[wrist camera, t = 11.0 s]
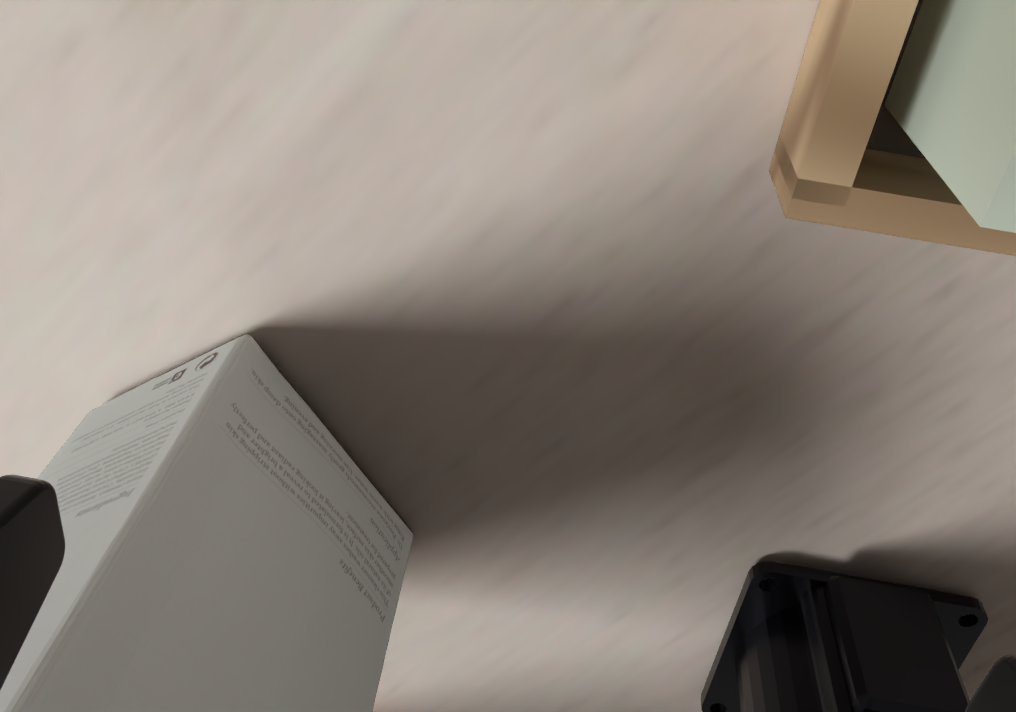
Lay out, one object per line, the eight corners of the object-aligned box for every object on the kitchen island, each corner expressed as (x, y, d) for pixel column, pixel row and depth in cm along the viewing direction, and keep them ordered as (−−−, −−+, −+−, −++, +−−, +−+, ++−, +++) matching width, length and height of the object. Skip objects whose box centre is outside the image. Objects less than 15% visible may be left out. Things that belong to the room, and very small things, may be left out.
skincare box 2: (95, 401, 25) (-440, 1017, 13) (262, 318, 23) (-181, 960, 10) (277, 598, 28) (0, 1234, 16) (437, 542, 26) (261, 1224, 14)
